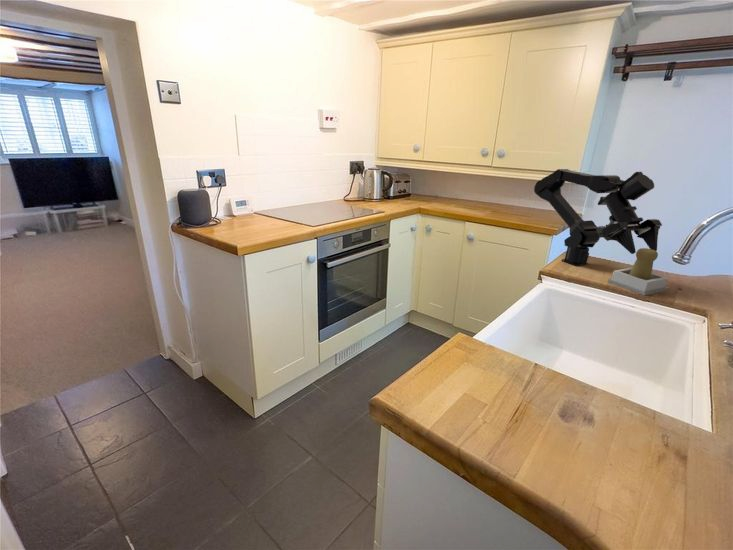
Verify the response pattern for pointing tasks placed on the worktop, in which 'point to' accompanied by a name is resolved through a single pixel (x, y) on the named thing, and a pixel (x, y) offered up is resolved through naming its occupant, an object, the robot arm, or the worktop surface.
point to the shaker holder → (639, 282)
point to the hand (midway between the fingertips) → (644, 252)
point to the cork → (644, 263)
